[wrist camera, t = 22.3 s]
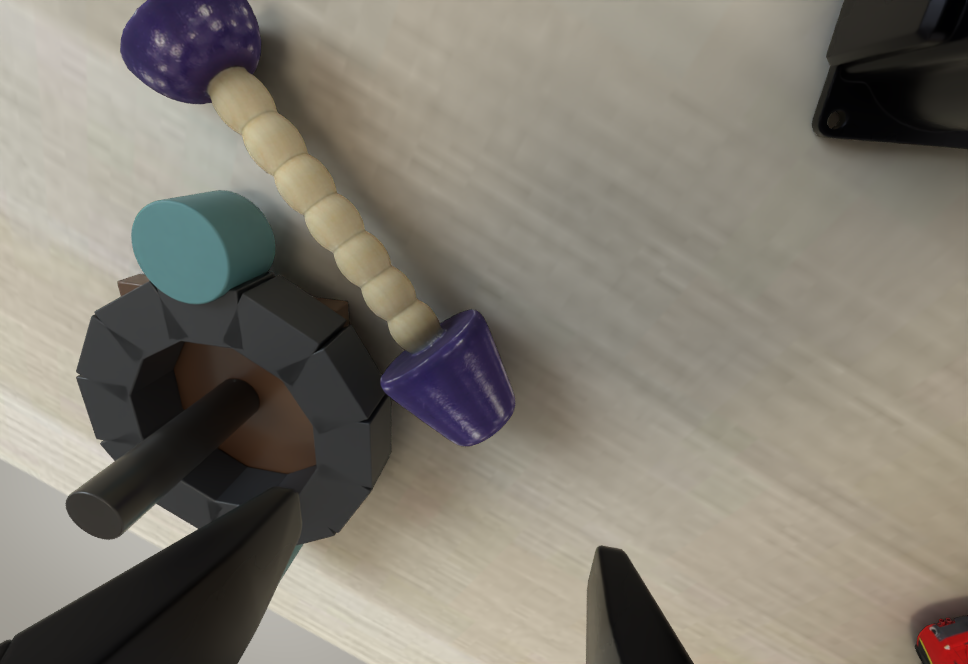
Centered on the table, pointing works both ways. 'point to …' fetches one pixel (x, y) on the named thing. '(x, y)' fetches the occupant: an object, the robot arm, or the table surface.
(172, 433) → the stand
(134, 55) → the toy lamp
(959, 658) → the race car
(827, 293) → the table surface
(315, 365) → the grey faceted ring
